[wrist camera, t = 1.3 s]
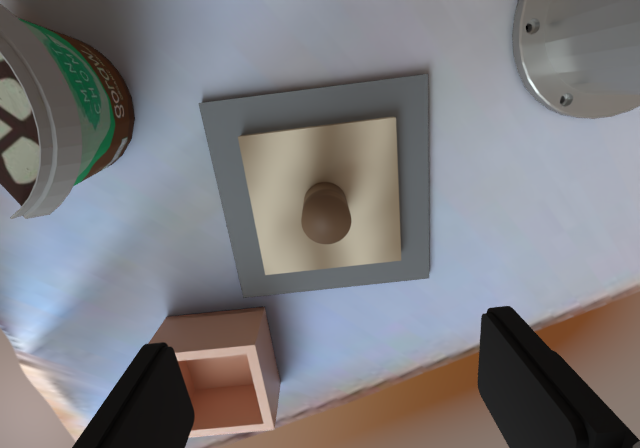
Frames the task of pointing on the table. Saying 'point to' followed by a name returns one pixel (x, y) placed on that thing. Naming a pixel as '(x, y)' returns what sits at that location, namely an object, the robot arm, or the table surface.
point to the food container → (56, 114)
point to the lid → (324, 195)
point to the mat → (314, 110)
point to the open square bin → (226, 369)
